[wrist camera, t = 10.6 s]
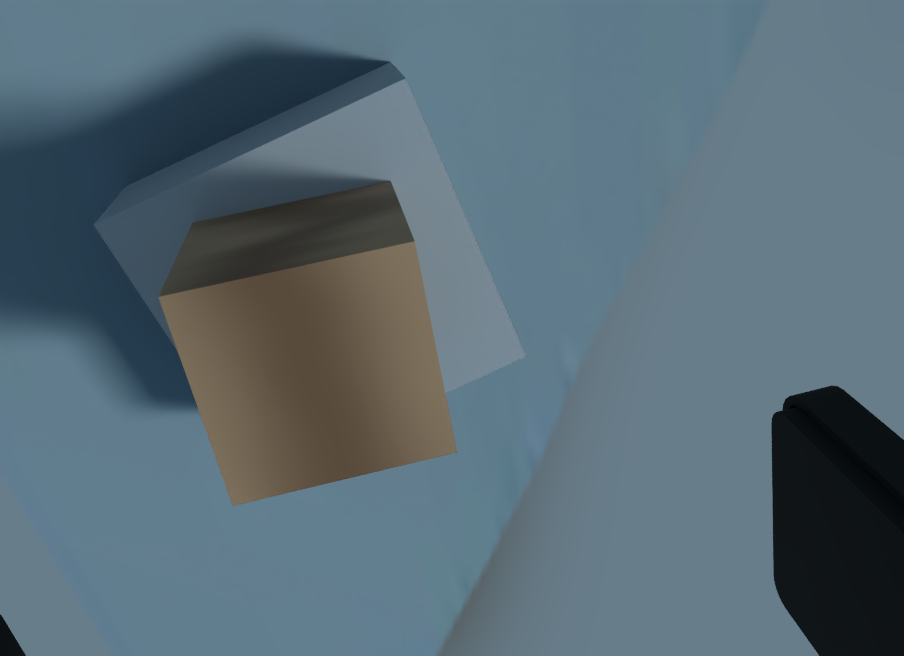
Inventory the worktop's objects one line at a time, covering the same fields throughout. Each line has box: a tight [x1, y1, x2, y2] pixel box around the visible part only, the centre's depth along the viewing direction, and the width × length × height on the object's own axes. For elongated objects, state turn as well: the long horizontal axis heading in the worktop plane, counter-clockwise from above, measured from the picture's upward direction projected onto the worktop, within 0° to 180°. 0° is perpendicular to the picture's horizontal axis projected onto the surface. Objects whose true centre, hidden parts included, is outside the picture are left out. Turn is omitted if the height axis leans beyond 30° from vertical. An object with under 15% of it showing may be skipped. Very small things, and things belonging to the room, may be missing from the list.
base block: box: [93, 62, 526, 394], centre depth 28 cm, size 10×10×5 cm
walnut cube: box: [158, 181, 457, 506], centre depth 23 cm, size 6×6×6 cm
